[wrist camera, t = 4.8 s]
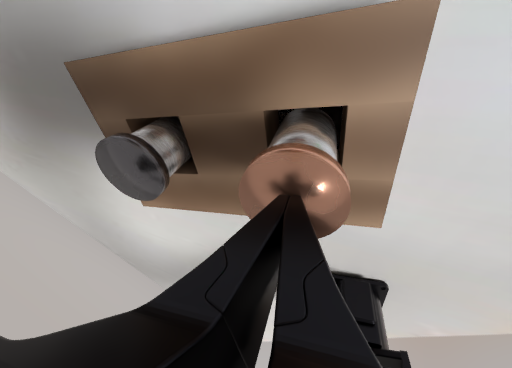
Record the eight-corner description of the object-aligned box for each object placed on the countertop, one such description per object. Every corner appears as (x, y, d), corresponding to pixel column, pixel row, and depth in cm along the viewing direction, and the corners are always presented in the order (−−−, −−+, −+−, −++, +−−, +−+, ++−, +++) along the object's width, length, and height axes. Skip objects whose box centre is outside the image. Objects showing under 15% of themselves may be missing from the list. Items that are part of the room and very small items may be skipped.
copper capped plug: (340, 165, 14) (345, 246, 9) (275, 164, 16) (247, 234, 10) (346, 97, 12) (358, 152, 7) (269, 102, 13) (228, 152, 8)
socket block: (372, 192, 17) (381, 228, 14) (168, 182, 24) (143, 206, 20) (410, 1, 11) (442, -8, 8) (112, 56, 17) (63, 62, 14)
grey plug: (216, 153, 19) (172, 203, 13) (174, 153, 20) (118, 198, 15) (203, 101, 16) (141, 137, 11) (156, 105, 18) (81, 138, 12)
